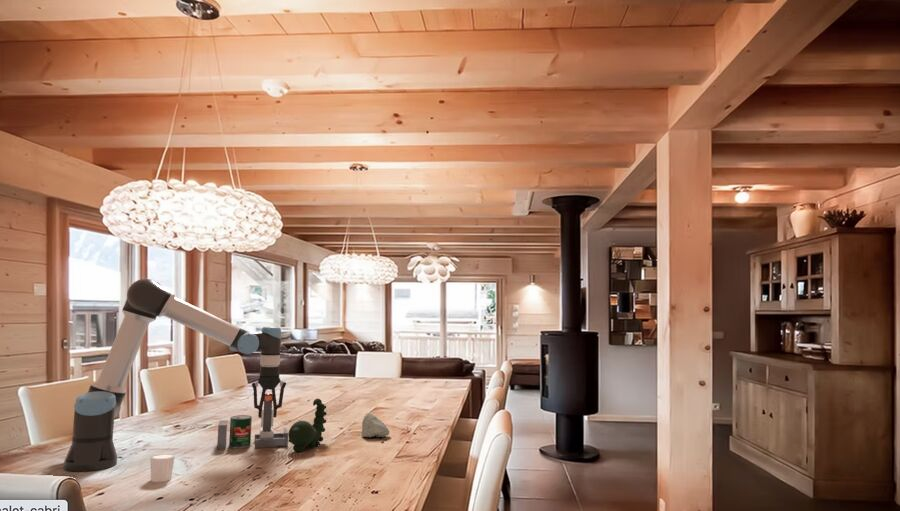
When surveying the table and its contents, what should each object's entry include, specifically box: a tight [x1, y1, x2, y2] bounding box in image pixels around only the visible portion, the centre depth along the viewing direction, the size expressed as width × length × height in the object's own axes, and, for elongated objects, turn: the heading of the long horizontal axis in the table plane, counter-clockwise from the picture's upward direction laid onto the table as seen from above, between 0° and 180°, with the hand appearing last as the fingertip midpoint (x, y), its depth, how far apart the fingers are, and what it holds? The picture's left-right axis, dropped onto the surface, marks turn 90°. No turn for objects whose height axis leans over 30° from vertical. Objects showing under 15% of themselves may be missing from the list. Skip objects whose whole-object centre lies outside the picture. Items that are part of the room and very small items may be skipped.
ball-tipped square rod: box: [259, 392, 275, 439], centre depth 229 cm, size 7×5×20 cm
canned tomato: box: [228, 414, 253, 449], centre depth 225 cm, size 8×8×11 cm
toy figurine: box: [288, 398, 328, 453], centre depth 224 cm, size 9×19×25 cm
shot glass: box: [149, 453, 175, 483], centre depth 179 cm, size 7×7×7 cm
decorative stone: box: [361, 413, 390, 438], centre depth 246 cm, size 13×11×10 cm
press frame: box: [216, 419, 289, 451], centre depth 227 cm, size 11×26×9 cm, turn 109°
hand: (266, 425), depth 229 cm, fingers closed on ball-tipped square rod, 3 cm apart
